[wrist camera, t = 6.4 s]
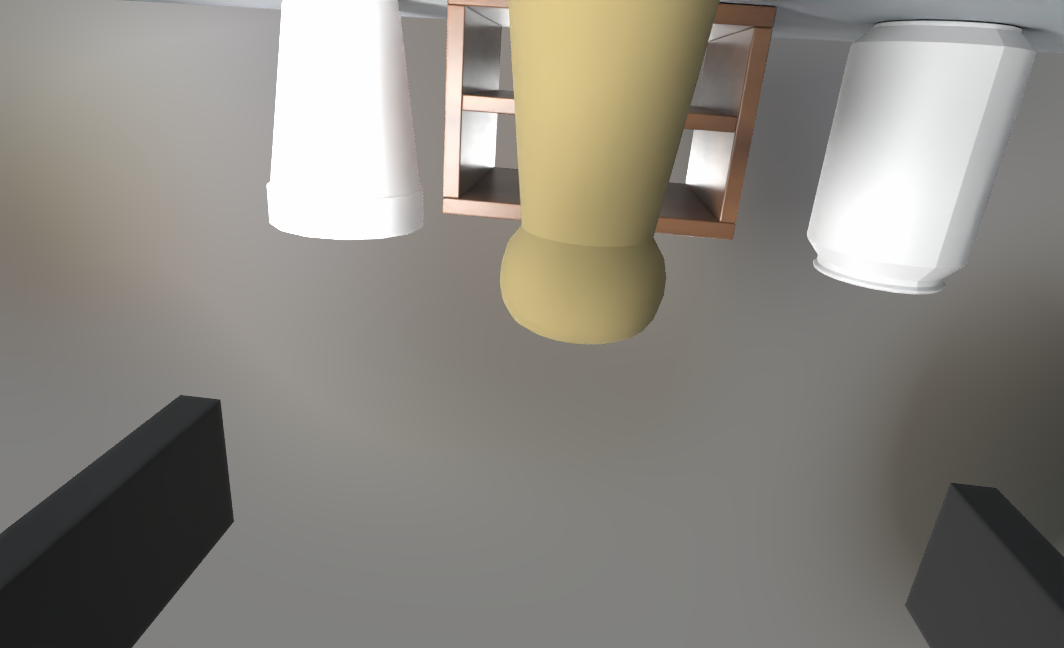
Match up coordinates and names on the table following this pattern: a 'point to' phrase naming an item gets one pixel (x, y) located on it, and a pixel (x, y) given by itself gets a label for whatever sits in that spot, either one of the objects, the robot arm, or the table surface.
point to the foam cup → (343, 124)
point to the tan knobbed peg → (596, 158)
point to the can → (916, 151)
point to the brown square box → (715, 121)
